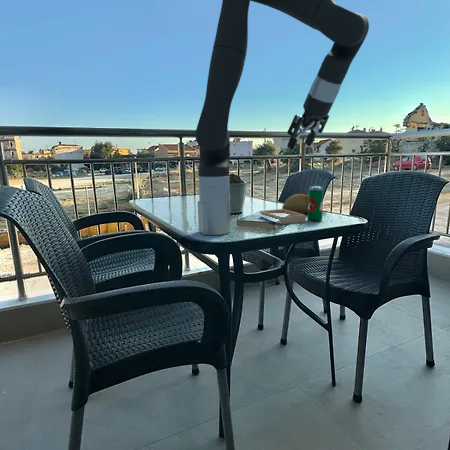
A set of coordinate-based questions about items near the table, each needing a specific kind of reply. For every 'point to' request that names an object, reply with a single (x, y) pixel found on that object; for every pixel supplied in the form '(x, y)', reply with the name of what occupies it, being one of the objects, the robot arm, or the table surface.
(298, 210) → the bread roll
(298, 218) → the tray
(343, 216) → the table surface
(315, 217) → the soda can
